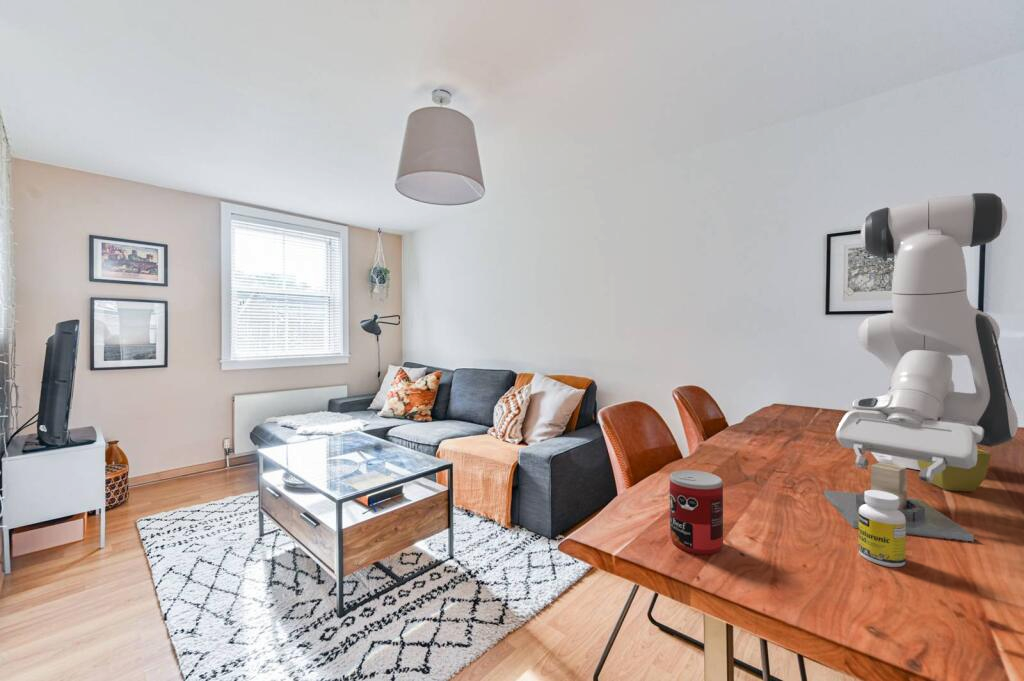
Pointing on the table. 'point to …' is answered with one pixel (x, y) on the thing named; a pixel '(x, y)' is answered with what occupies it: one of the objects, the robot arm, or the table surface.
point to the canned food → (696, 511)
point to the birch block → (890, 481)
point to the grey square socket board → (917, 515)
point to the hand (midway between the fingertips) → (891, 472)
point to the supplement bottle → (882, 529)
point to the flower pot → (961, 474)
